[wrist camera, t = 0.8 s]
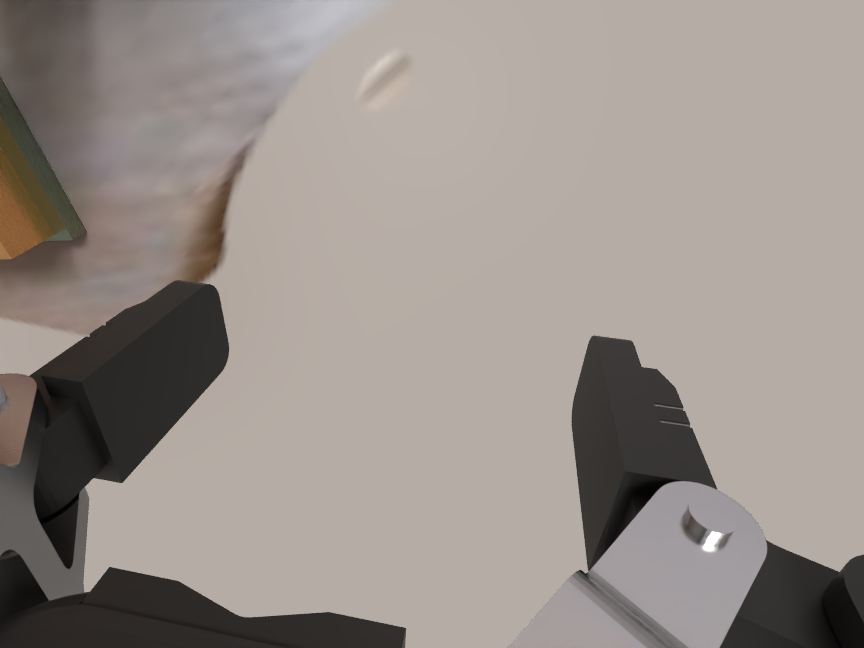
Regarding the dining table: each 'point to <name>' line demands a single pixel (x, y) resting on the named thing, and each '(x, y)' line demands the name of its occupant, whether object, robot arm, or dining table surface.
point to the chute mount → (28, 189)
